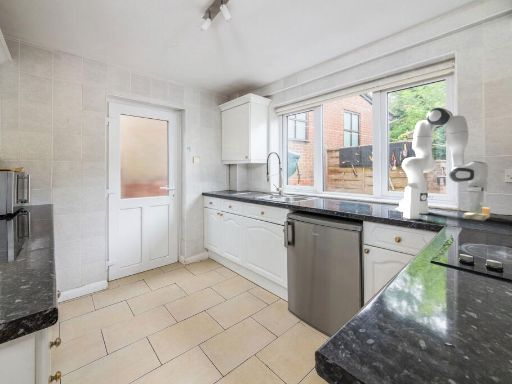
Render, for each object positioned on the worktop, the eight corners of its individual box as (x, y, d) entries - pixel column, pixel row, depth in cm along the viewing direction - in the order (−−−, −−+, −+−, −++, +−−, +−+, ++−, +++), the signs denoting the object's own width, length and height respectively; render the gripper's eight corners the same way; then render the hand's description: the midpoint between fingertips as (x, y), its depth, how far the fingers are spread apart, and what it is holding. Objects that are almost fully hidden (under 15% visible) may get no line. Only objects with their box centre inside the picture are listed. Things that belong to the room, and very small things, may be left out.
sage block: (469, 212, 154) (470, 204, 153) (471, 211, 157) (471, 204, 156) (480, 213, 150) (480, 205, 149) (481, 212, 153) (482, 204, 152)
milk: (403, 217, 157) (404, 182, 155) (412, 217, 158) (413, 182, 156) (409, 219, 151) (411, 183, 149) (419, 219, 152) (420, 183, 150)
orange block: (478, 217, 158) (479, 207, 158) (480, 216, 161) (481, 207, 161) (488, 218, 155) (489, 208, 154) (489, 217, 158) (490, 207, 157)
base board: (462, 218, 154) (462, 214, 154) (466, 216, 161) (466, 212, 160) (484, 220, 147) (484, 216, 146) (487, 218, 153) (487, 214, 153)
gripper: (474, 187, 161) (472, 208, 162) (466, 188, 148) (464, 211, 149) (487, 187, 156) (485, 209, 157) (480, 189, 143) (478, 212, 144)
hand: (475, 210), depth 153 cm, fingers closed on sage block, 5 cm apart
